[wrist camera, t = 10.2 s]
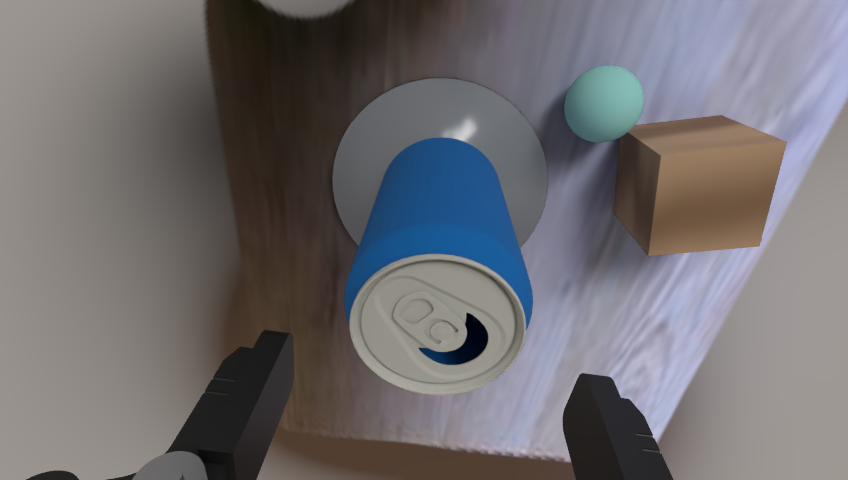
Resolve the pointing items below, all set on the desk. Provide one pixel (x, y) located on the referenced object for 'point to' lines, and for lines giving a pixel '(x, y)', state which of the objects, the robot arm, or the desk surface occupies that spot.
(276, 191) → the desk surface
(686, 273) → the desk surface
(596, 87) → the teal ball
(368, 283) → the beverage can
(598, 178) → the desk surface
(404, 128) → the coaster
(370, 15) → the desk surface
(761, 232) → the walnut cube
